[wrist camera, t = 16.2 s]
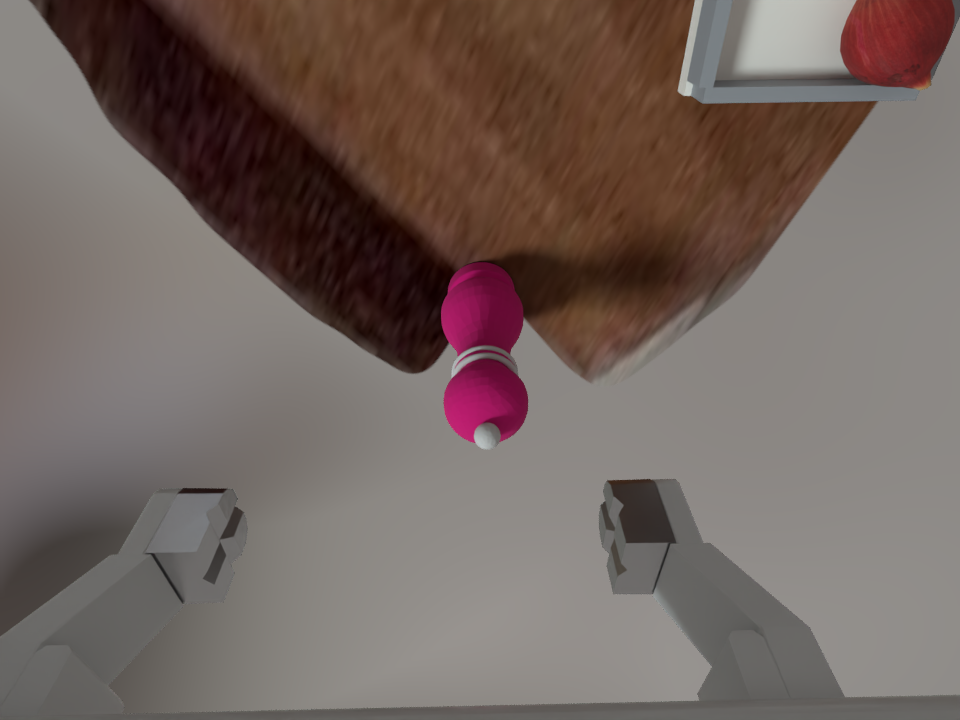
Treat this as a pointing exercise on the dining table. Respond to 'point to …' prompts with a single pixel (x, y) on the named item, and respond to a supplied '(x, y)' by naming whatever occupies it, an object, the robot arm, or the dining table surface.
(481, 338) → the pepper mill
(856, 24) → the onion
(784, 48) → the stand
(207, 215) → the dining table surface
